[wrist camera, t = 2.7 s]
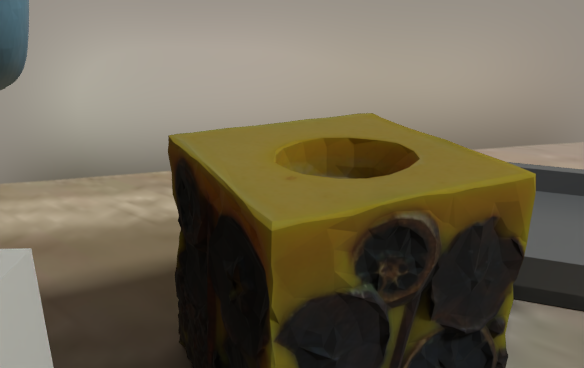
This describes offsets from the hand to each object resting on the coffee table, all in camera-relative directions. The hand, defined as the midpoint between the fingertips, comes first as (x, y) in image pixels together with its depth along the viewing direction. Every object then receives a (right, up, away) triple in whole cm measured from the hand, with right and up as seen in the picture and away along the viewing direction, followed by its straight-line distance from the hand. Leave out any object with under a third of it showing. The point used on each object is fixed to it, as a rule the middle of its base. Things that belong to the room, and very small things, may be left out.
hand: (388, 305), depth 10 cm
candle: (0, -6, +13) cm, 14 cm away
